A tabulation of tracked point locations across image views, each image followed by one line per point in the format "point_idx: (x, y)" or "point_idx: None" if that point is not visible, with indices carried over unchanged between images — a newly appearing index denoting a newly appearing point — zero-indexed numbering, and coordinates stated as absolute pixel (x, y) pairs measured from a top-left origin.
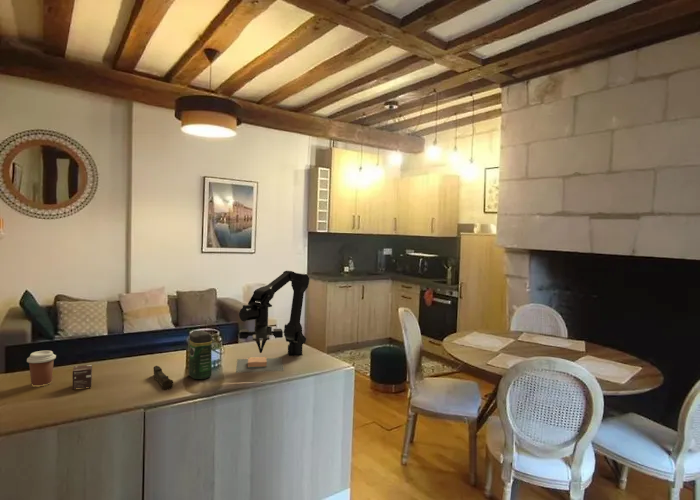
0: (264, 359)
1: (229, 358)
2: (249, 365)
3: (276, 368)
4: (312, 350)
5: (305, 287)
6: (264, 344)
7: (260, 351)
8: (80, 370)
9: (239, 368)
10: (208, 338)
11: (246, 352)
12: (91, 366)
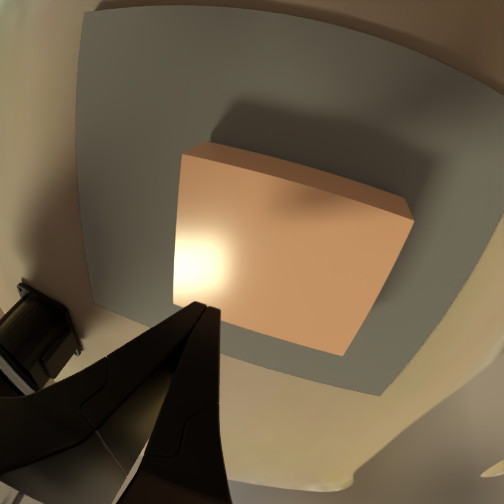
0: (195, 248)
1: (399, 421)
2: (390, 198)
3: (125, 74)
4: None
5: None
6: (80, 373)
7: (204, 318)
8: None
9: (476, 212)
10: None
11: (279, 444)
12: None
